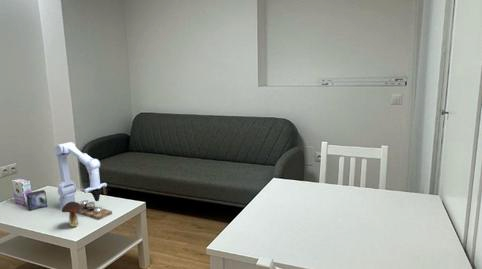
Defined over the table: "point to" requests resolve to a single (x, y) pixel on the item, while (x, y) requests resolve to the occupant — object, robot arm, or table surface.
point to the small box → (36, 200)
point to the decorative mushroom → (72, 212)
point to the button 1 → (84, 203)
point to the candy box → (21, 191)
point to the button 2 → (98, 210)
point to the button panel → (93, 215)
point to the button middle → (91, 205)
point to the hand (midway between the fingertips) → (97, 200)
